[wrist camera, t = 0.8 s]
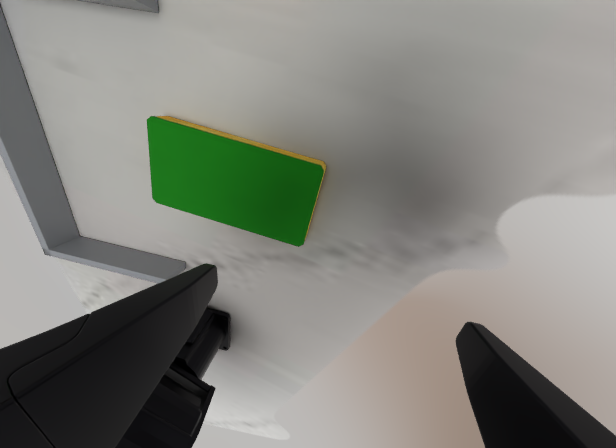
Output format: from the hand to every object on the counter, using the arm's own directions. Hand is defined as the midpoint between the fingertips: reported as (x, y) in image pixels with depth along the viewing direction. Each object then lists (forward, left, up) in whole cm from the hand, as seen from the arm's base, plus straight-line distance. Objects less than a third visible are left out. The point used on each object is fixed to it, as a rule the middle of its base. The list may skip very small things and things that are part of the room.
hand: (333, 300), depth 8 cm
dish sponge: (-1, +9, -13) cm, 16 cm away
